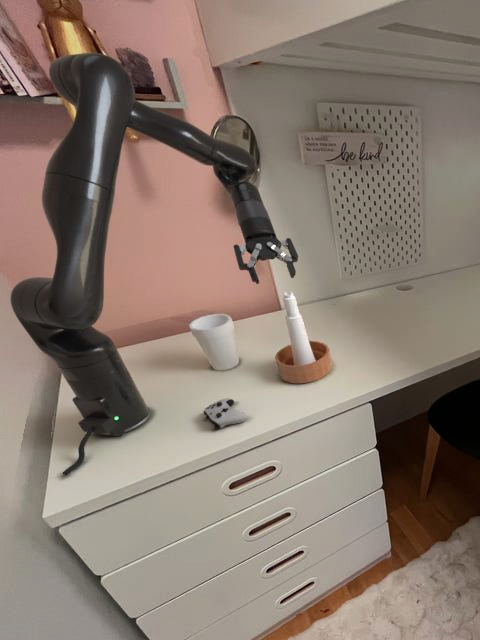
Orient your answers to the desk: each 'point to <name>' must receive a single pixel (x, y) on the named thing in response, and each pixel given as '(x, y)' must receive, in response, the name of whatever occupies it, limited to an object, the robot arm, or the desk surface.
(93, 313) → the robot arm
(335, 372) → the desk surface
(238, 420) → the game controller
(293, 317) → the cosmetic bottle
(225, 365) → the foam cup
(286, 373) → the bowl
